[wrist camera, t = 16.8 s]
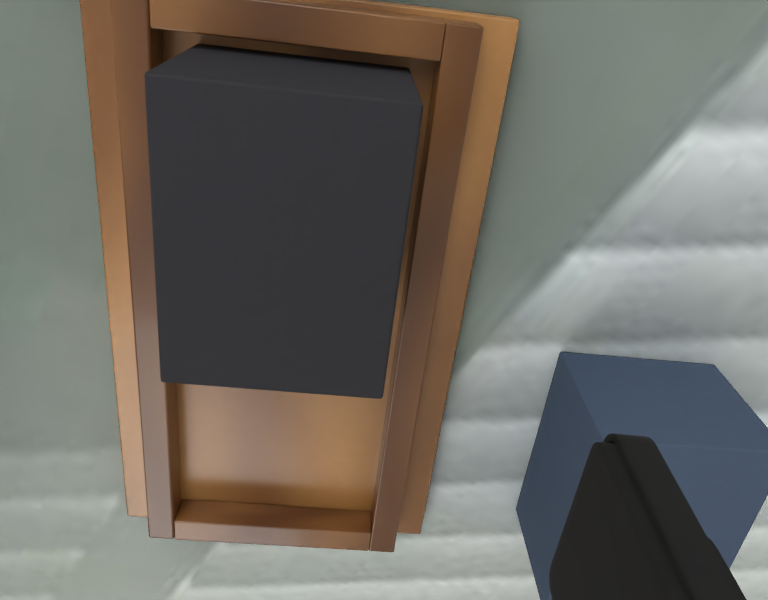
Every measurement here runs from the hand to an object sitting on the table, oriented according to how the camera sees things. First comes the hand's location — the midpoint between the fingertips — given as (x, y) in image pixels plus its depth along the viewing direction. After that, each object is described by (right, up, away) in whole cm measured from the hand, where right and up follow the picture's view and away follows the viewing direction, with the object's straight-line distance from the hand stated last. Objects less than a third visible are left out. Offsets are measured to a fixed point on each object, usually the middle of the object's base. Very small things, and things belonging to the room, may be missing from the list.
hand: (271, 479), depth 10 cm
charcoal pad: (-1, +6, +11) cm, 12 cm away
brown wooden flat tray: (-2, +2, +14) cm, 14 cm away
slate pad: (+11, -3, +17) cm, 20 cm away
